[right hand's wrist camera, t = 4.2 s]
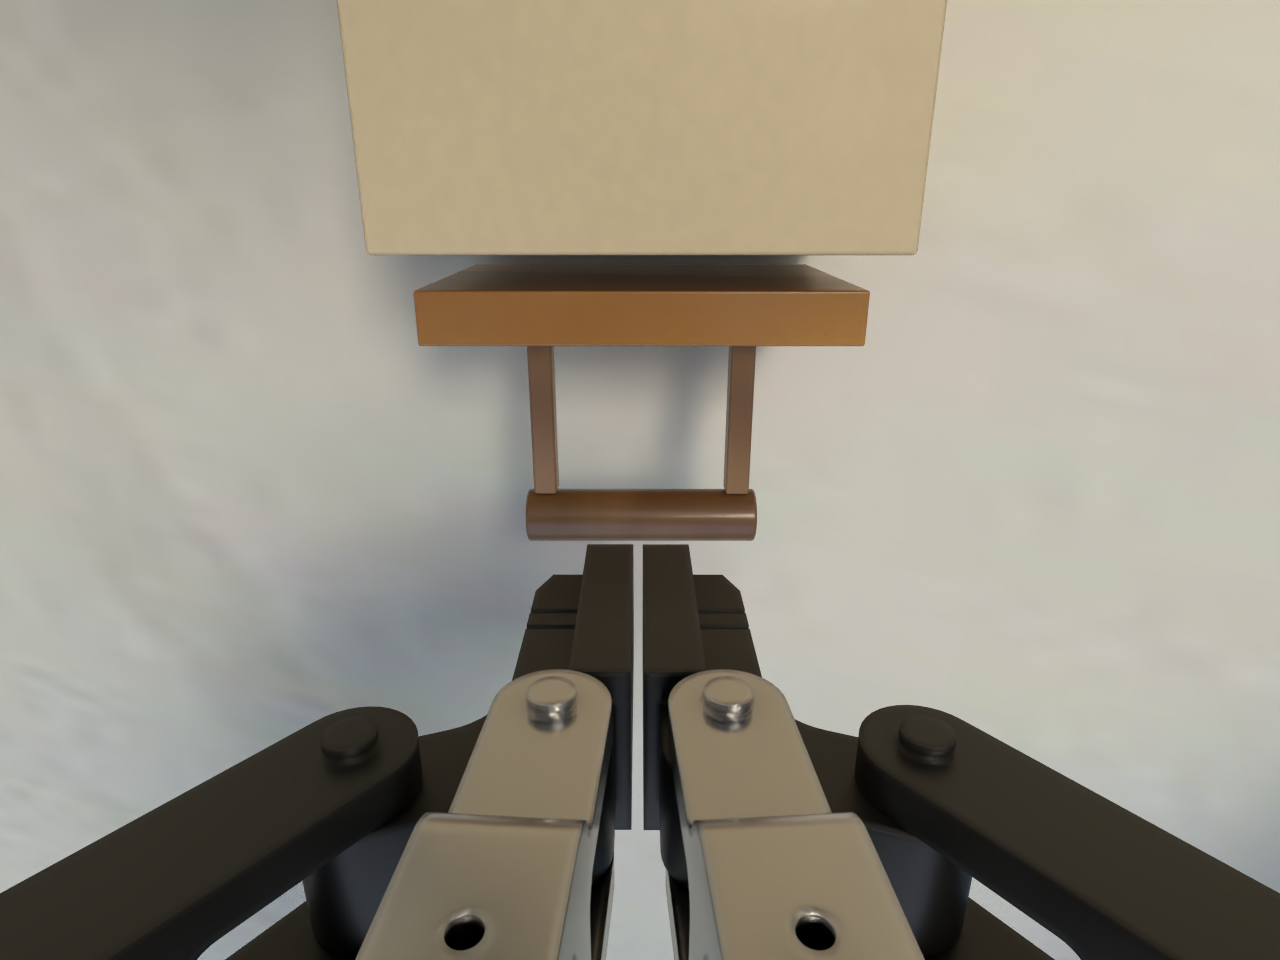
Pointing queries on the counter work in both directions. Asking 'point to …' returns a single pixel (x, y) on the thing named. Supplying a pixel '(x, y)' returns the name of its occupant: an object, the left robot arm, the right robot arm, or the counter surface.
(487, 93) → the cabinet
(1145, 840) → the right robot arm
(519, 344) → the drawer
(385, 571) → the counter surface
